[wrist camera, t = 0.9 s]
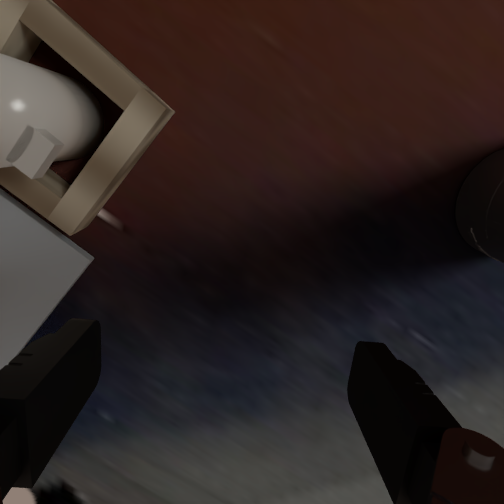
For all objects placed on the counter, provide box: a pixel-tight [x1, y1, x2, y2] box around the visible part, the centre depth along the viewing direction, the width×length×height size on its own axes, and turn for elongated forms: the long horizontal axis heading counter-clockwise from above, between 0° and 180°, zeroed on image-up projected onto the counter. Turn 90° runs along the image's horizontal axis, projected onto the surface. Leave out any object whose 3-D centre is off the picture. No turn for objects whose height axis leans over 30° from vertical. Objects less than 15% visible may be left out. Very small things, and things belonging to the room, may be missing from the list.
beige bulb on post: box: [0, 53, 104, 179], centre depth 21 cm, size 12×6×9 cm, turn 48°
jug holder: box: [0, 0, 175, 236], centre depth 25 cm, size 12×12×3 cm
